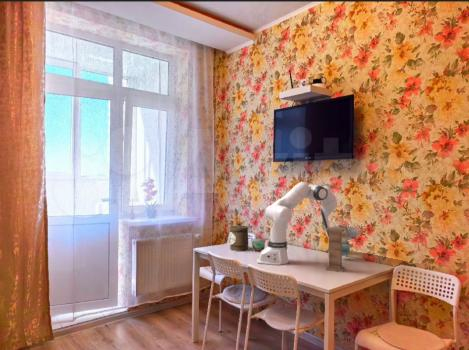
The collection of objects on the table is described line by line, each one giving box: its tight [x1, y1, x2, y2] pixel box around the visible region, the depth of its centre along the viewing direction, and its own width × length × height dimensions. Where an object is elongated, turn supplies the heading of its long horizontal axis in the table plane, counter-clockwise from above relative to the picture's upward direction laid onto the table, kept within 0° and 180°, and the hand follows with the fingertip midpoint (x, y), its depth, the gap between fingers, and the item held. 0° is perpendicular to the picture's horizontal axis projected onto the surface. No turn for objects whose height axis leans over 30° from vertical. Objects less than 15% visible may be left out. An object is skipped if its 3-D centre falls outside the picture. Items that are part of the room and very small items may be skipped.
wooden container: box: [229, 221, 249, 252], centre depth 269 cm, size 15×15×22 cm
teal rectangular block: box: [340, 225, 351, 257], centre depth 233 cm, size 20×7×7 cm
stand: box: [325, 227, 346, 273], centre depth 209 cm, size 7×10×26 cm
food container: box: [250, 238, 267, 253], centre depth 261 cm, size 12×6×10 cm, turn 105°
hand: (342, 226), depth 231 cm, fingers closed on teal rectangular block, 3 cm apart
